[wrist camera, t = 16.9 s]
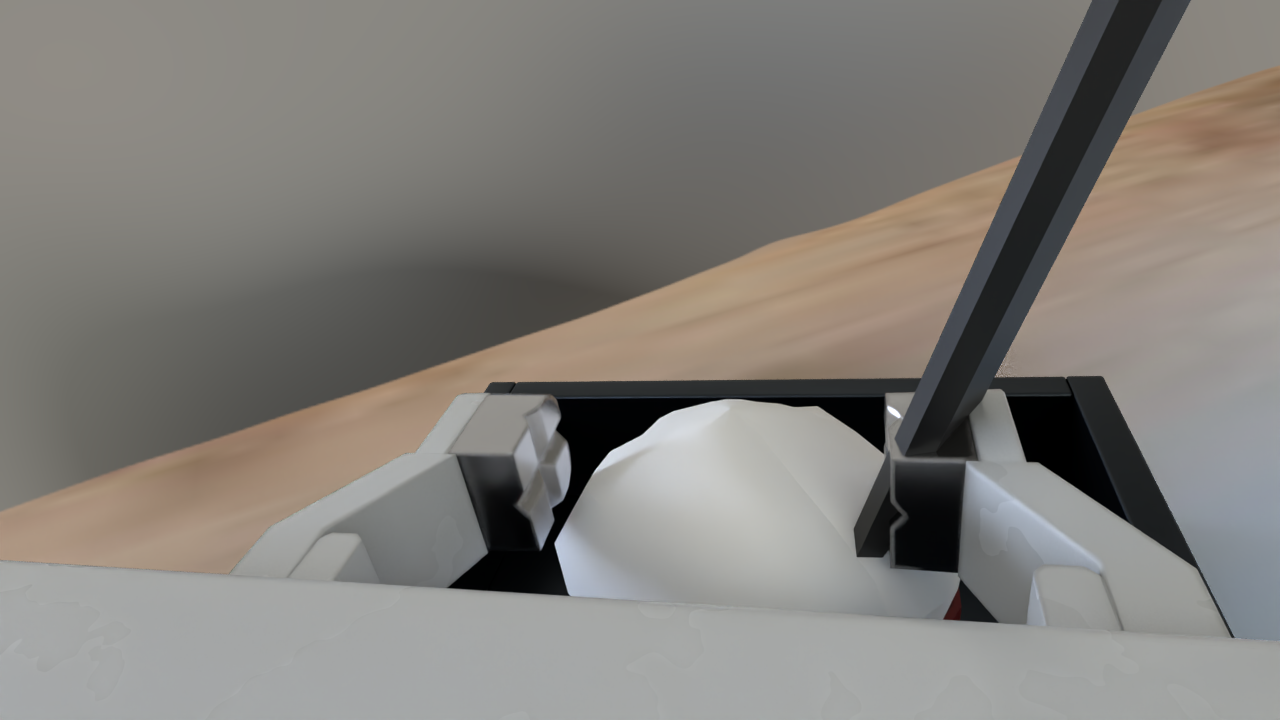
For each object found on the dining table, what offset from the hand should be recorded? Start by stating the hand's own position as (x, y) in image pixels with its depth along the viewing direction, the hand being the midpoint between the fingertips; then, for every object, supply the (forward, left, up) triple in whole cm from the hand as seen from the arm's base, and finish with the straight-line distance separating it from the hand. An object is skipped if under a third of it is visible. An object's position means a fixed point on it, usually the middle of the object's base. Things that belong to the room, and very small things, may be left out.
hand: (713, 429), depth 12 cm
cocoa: (+1, -1, -7) cm, 7 cm away
